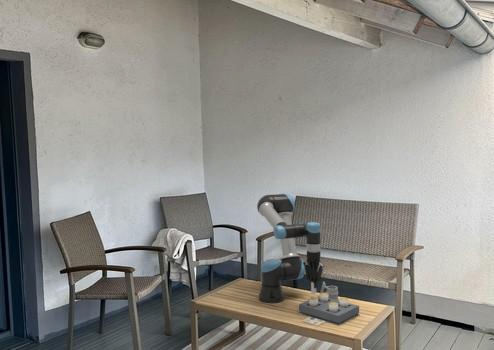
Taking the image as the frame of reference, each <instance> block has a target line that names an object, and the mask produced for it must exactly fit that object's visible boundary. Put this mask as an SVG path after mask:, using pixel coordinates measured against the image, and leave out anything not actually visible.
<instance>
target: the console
mask: <svg viewBox="0 0 494 350" xmlns="http://www.w3.org/2000/svg"><path fill="white" fill-rule="evenodd" d="M316 297H317V298H318V306H317V307H312V306H309V299H308V300H306V301H304V302H301V303H299V304H298V314H301V315H304V316H307V317H312V318H316V319H319V320H322V321H326V323H330V324H332V325H337V326H340V325H341V324H342V325H343V324H344V323H346V322H348V321H350V320H353V318H355V317H357V316H358V317H359V316H360V305H357V304H353V303H350V302H348V307H347V308H343V307H339V299H338V300H335V299H331V298H328V302H326V303H325V302H321V301H320V295H318V296H316ZM330 302H336V303H338V312H336V313H333V312H329V303H330Z"/></svg>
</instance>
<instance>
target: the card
mask: <svg viewBox="0 0 494 350" xmlns="http://www.w3.org/2000/svg"><path fill="white" fill-rule="evenodd" d="M301 321H302V323H306V324H309V325H312V326H316V327H320V326H322V325H324V324H326V323H327V322H326V321H323V320H320V319H316V318H313V317H310V316H308V317H307V318H305V319H302V320H301Z"/></svg>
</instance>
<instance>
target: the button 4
mask: <svg viewBox="0 0 494 350" xmlns="http://www.w3.org/2000/svg"><path fill="white" fill-rule="evenodd" d="M338 300H339V307H343V308H347V307H348V303H349V298H348V297H339V298H338Z"/></svg>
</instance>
